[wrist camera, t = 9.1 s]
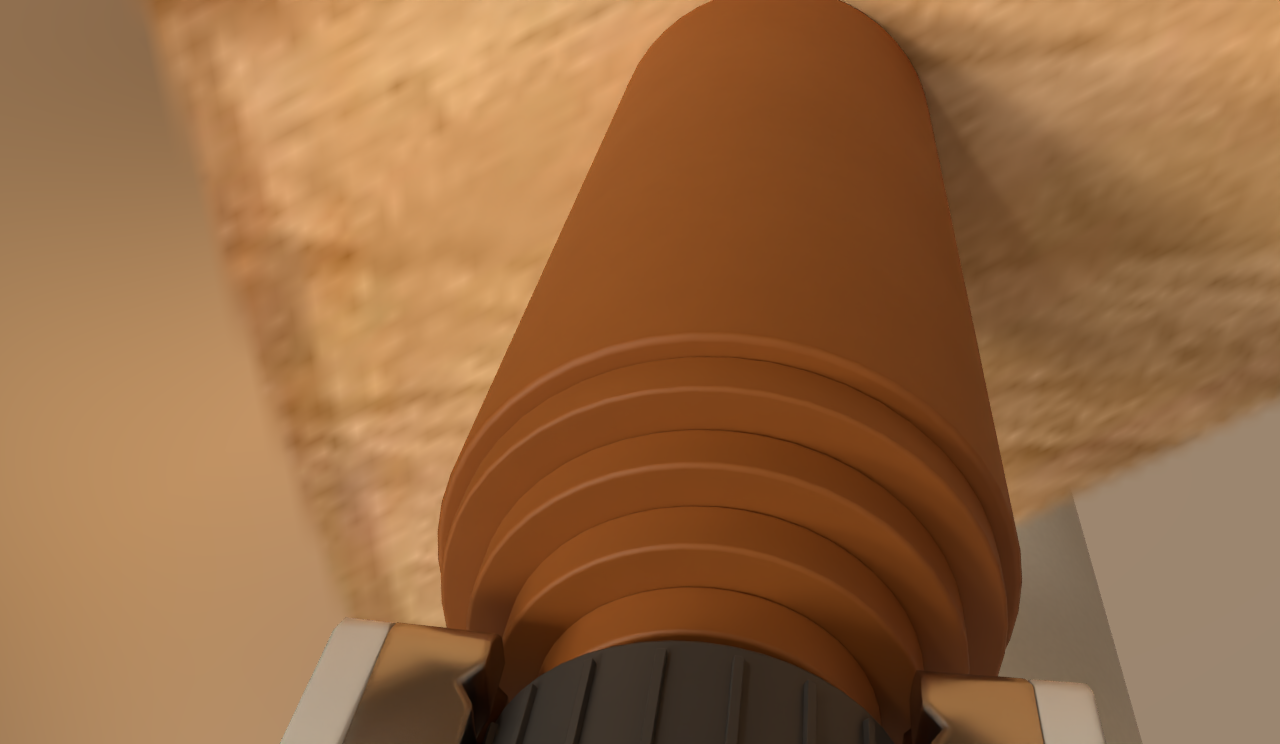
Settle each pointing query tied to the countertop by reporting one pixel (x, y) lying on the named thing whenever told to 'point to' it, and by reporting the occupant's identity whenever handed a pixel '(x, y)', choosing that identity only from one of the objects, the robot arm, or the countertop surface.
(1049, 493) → the countertop surface
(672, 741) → the cap
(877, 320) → the bottle
